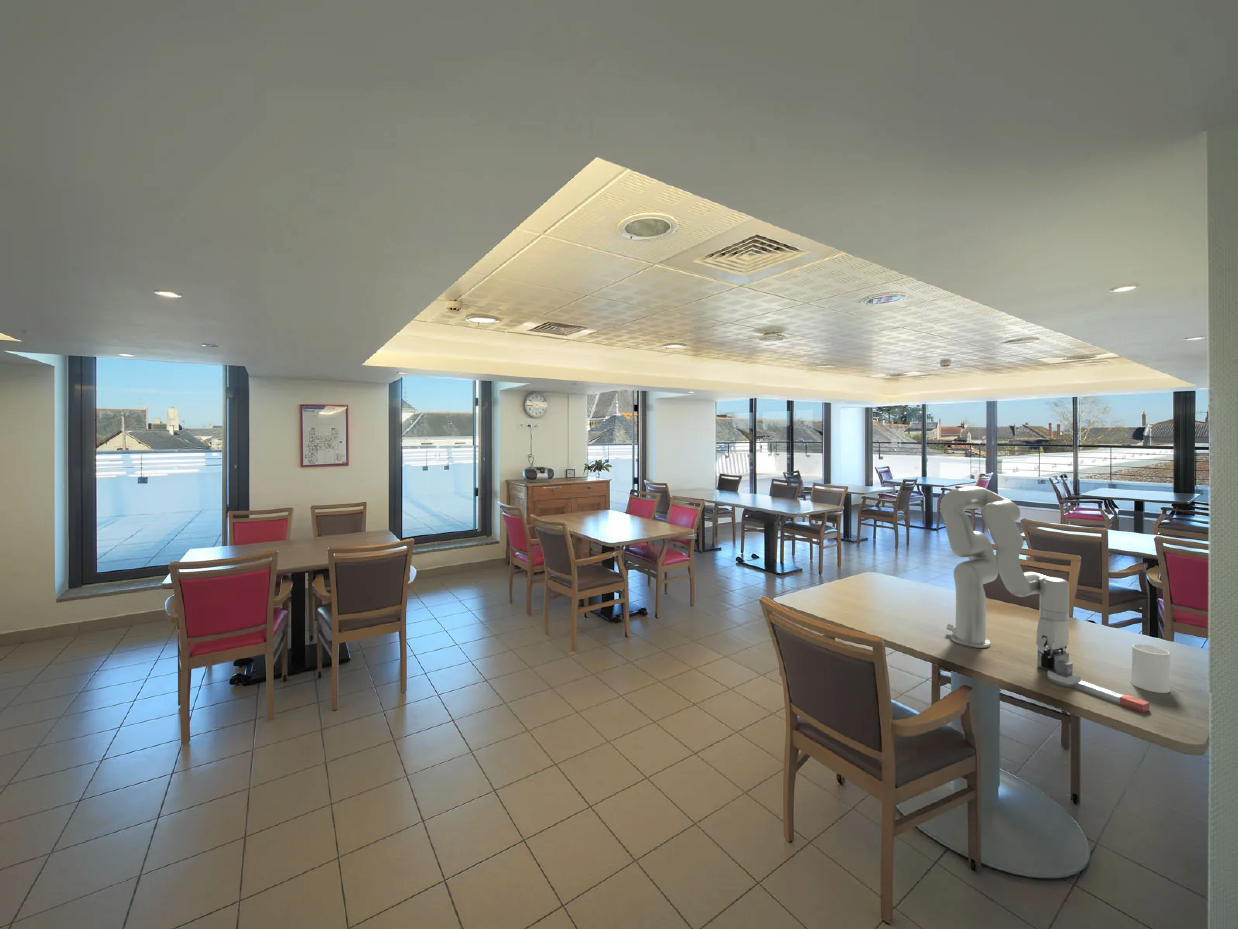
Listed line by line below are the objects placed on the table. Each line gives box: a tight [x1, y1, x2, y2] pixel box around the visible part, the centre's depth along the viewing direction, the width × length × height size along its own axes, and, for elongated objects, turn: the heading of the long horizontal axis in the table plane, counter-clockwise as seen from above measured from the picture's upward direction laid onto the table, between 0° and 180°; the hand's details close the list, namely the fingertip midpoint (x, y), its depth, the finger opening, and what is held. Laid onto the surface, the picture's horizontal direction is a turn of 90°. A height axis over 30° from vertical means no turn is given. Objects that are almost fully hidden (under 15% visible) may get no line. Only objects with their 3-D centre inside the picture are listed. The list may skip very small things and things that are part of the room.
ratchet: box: [1047, 660, 1150, 714], centre depth 153 cm, size 24×8×6 cm, turn 22°
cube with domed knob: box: [1036, 646, 1070, 671], centre depth 170 cm, size 6×6×7 cm
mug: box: [1130, 643, 1171, 694], centre depth 156 cm, size 12×8×12 cm
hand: (1052, 665), depth 170 cm, fingers closed on cube with domed knob, 6 cm apart
